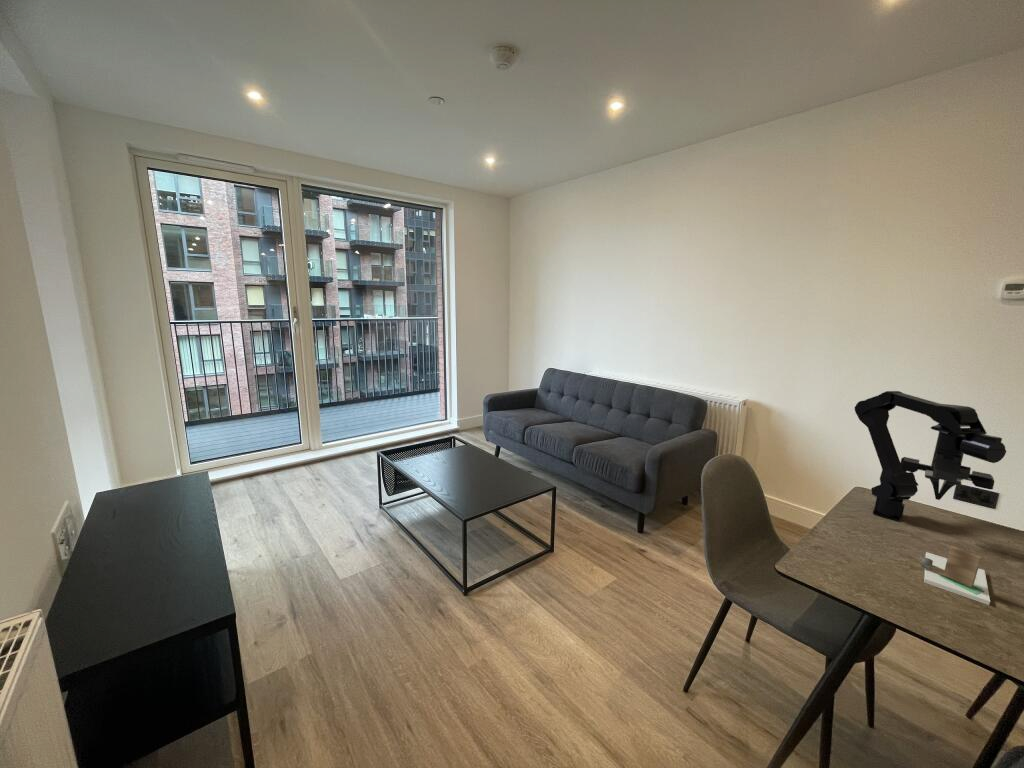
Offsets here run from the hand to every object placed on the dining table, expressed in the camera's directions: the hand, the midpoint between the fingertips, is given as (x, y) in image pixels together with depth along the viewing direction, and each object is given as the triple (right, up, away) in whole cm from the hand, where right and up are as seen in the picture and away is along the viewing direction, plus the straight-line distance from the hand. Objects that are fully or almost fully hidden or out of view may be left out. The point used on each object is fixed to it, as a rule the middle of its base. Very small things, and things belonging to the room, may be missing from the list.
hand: (937, 499), depth 121 cm
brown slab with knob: (-15, -14, -18) cm, 28 cm away
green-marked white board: (-12, -16, -16) cm, 25 cm away
